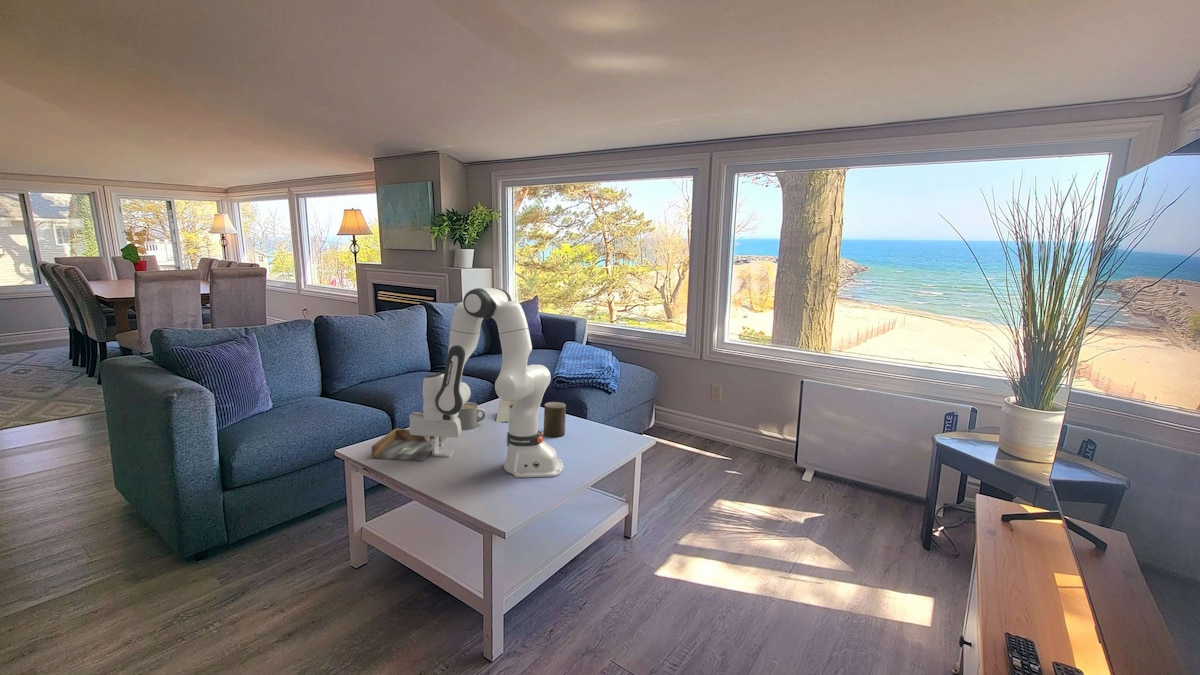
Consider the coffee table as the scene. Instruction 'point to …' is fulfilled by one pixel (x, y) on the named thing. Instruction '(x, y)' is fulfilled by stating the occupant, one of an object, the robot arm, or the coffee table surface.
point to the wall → (504, 410)
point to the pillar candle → (554, 419)
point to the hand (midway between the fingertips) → (435, 446)
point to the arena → (402, 446)
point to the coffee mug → (470, 415)
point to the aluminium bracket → (440, 452)
